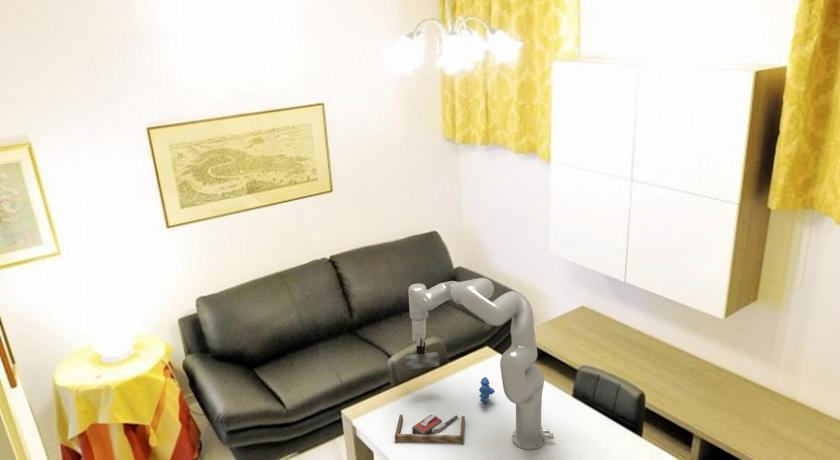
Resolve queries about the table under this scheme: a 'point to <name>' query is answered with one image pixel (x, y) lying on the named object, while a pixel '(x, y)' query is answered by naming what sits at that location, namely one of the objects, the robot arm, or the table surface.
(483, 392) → the grapes
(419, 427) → the walkie-talkie
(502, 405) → the table surface
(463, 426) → the dock
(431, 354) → the scraper
